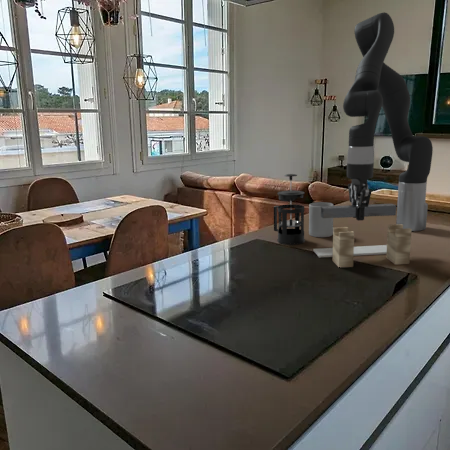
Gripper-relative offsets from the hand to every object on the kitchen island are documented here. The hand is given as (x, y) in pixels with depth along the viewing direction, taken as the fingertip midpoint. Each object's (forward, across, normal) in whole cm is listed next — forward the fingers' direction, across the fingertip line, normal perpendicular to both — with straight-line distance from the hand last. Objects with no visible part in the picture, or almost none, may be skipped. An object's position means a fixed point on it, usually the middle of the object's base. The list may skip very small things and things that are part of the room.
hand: (357, 218), depth 129 cm
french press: (+11, +16, +18) cm, 26 cm away
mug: (+11, +24, +5) cm, 27 cm away
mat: (+11, 0, 0) cm, 11 cm away
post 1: (+11, -10, +8) cm, 17 cm away
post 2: (+10, -10, -8) cm, 17 cm away
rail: (-1, 0, 0) cm, 1 cm away
